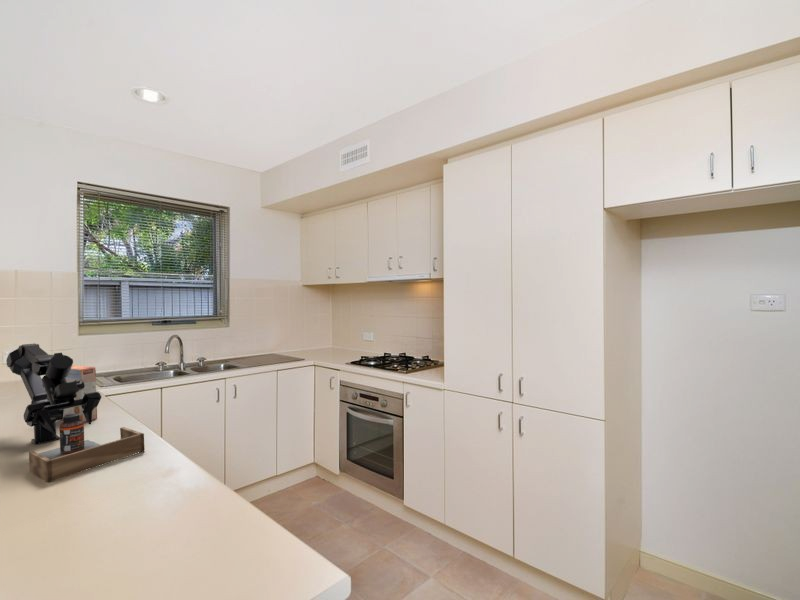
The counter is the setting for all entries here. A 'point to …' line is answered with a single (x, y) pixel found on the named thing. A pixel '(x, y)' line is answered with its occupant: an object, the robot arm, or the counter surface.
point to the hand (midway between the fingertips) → (73, 427)
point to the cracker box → (90, 386)
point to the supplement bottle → (71, 434)
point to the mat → (56, 453)
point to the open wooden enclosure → (86, 457)
